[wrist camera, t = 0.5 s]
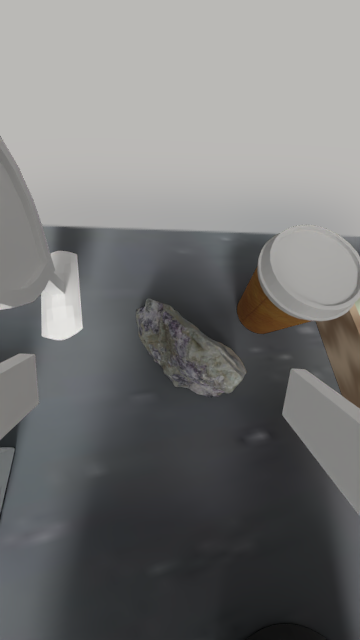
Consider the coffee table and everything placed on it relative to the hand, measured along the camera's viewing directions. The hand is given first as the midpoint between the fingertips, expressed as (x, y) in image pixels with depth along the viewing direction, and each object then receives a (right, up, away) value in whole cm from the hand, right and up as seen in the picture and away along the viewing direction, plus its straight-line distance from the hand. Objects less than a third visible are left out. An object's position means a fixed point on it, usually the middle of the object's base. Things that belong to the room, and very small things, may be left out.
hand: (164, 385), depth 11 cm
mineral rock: (+2, -1, +16) cm, 17 cm away
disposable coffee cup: (+12, +4, +19) cm, 23 cm away
